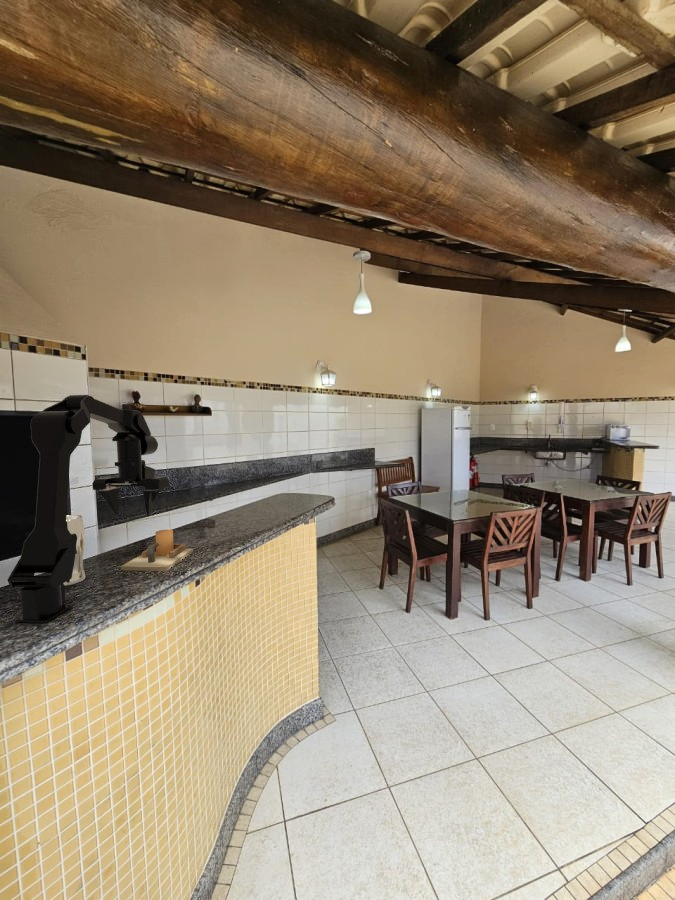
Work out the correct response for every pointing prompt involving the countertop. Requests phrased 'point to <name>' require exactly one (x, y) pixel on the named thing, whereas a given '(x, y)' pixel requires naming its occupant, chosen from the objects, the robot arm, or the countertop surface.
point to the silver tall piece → (77, 547)
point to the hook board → (157, 559)
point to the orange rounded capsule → (164, 542)
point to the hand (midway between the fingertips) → (133, 514)
